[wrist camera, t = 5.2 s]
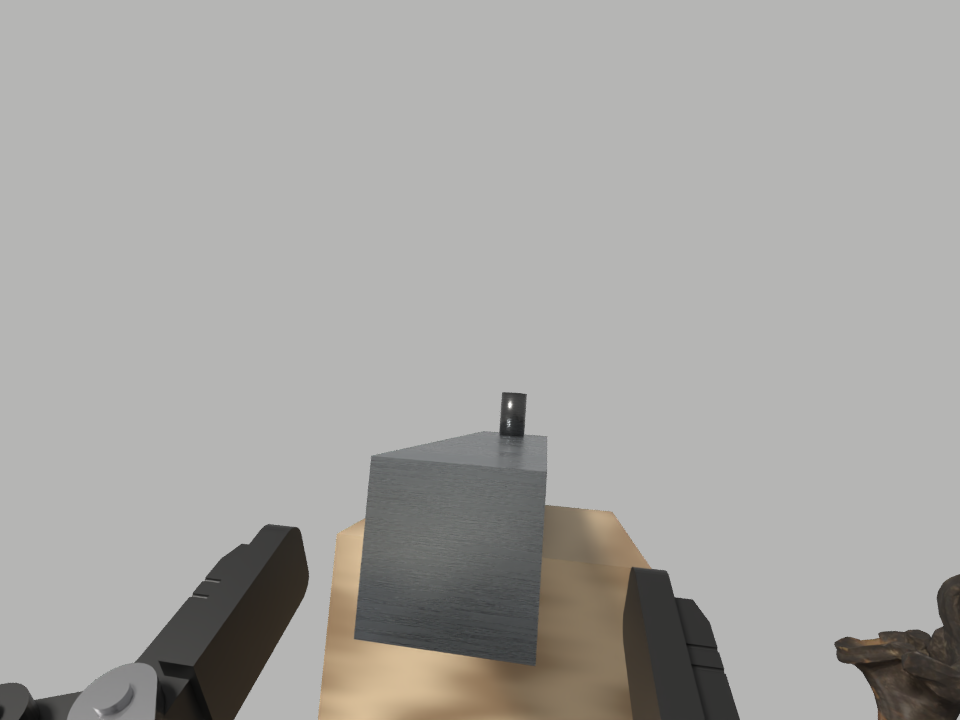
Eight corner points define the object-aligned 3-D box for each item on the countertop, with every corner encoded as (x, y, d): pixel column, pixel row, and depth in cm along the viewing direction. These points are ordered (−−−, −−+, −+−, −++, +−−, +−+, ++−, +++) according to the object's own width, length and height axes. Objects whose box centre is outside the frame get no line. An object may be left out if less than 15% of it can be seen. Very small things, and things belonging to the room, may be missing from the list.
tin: (543, 502, 30) (549, 397, 30) (535, 666, 10) (553, 362, 11) (479, 495, 30) (486, 393, 31) (353, 639, 11) (381, 352, 11)
